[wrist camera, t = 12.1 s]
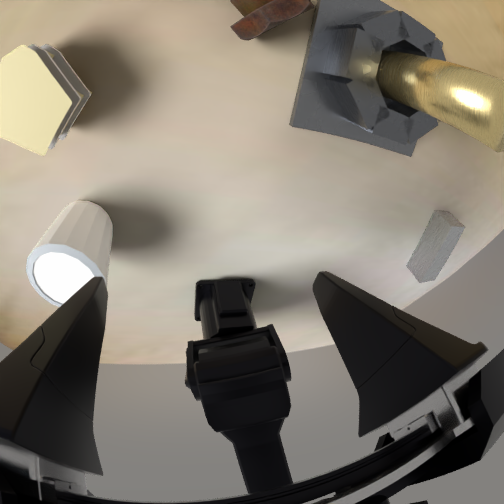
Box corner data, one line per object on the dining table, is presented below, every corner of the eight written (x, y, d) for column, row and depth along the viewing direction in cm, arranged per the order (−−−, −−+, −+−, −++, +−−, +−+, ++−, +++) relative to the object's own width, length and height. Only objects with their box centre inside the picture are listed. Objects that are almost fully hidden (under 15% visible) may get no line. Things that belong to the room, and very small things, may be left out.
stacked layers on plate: (138, 70, 15) (121, 73, 11) (75, 163, 18) (49, 194, 14) (49, 16, 9) (14, 10, 5) (-3, 111, 12) (-41, 132, 8)
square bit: (420, 263, 38) (434, 280, 35) (405, 264, 37) (419, 282, 34) (447, 211, 32) (465, 226, 29) (433, 209, 31) (452, 226, 28)
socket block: (407, 154, 24) (432, 171, 21) (289, 124, 20) (309, 138, 17) (438, 42, 15) (467, 48, 12) (322, -24, 11) (349, -34, 8)
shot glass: (113, 262, 24) (103, 319, 19) (52, 247, 21) (30, 301, 16) (126, 203, 21) (111, 257, 16) (56, 186, 18) (21, 234, 13)
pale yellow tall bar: (403, 90, 18) (516, 144, 9) (367, 100, 19) (485, 159, 10) (394, 47, 16) (518, 80, 6) (355, 53, 16) (488, 83, 7)
